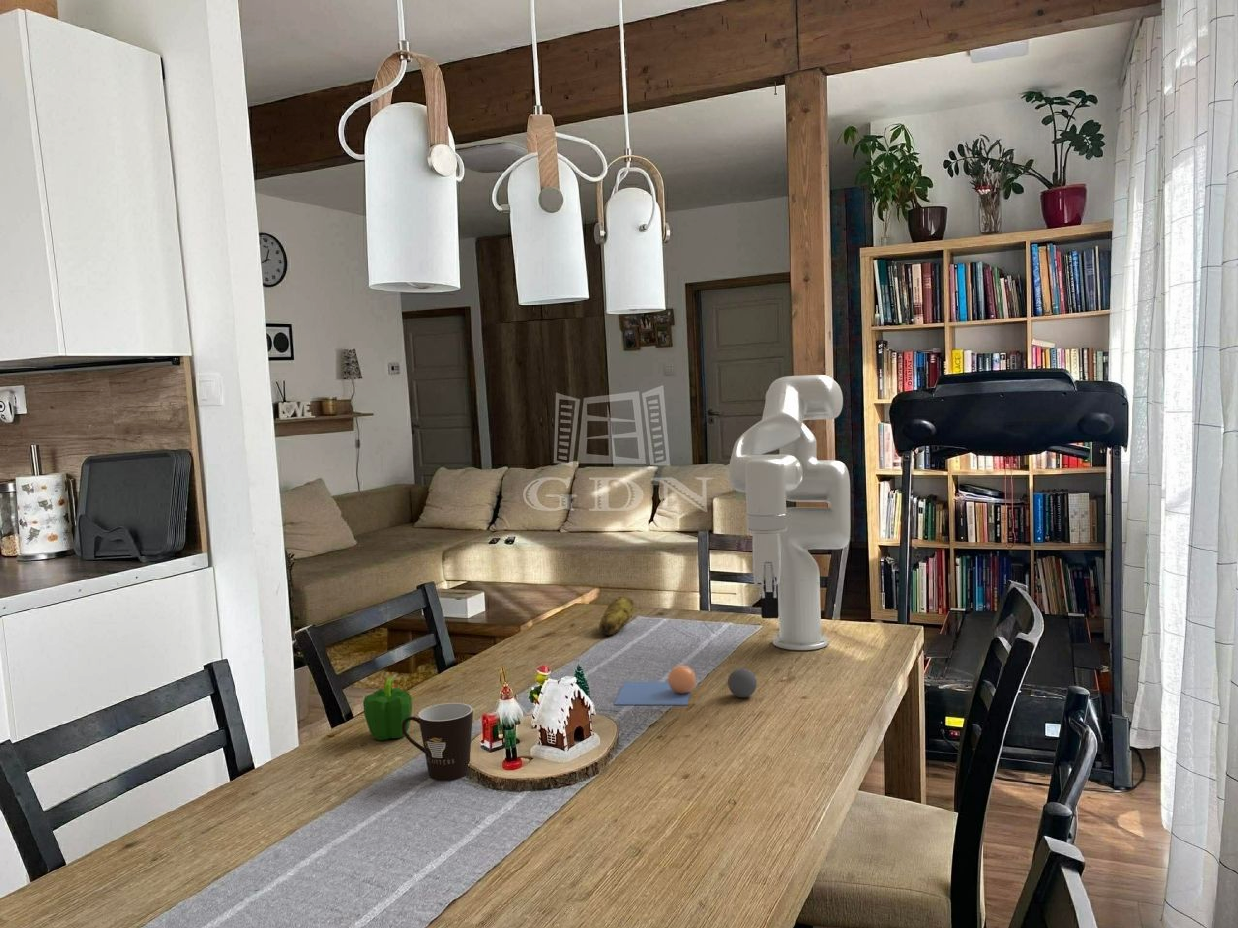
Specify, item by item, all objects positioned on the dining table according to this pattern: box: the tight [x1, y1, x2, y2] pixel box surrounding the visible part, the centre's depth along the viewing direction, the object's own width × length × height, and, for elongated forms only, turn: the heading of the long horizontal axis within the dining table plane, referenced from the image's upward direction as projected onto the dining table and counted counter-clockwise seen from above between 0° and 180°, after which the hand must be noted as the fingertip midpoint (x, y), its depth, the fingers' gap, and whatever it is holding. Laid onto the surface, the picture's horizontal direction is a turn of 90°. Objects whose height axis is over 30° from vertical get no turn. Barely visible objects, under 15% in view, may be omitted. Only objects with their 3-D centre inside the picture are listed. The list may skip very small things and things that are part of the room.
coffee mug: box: [402, 702, 474, 782], centre depth 150 cm, size 12×9×10 cm
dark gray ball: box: [727, 667, 758, 698], centre depth 180 cm, size 6×6×6 cm
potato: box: [598, 596, 635, 636], centre depth 235 cm, size 8×13×8 cm, turn 137°
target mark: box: [614, 681, 691, 706], centre depth 185 cm, size 14×14×1 cm
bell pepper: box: [362, 677, 413, 741], centre depth 167 cm, size 8×8×10 cm
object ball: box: [667, 664, 697, 694], centre depth 184 cm, size 6×6×6 cm
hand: (769, 617), depth 180 cm, fingers closed
